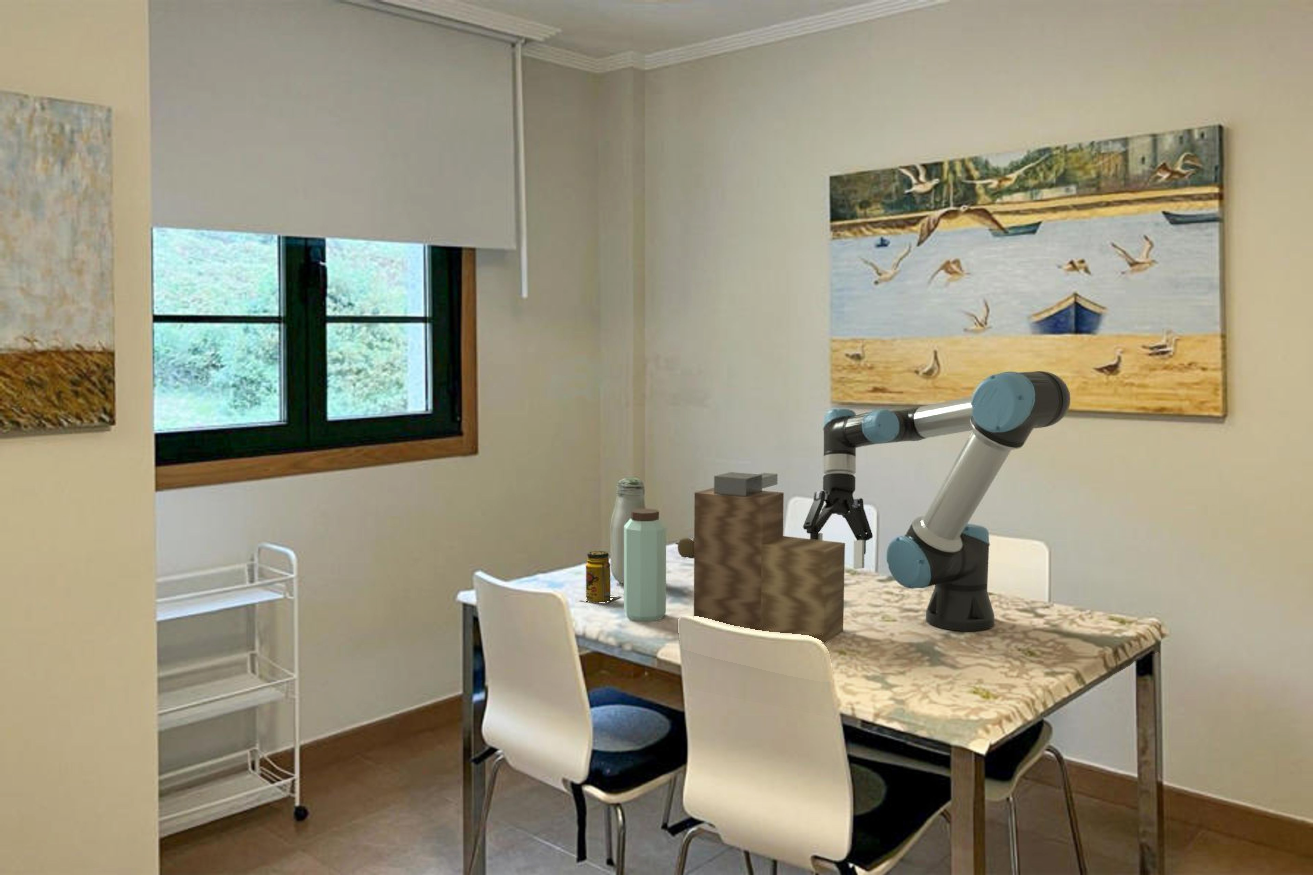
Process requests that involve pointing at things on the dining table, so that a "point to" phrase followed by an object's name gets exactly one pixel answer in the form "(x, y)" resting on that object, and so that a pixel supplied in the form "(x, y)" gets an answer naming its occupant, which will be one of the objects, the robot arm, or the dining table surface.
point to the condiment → (598, 577)
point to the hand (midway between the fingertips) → (838, 565)
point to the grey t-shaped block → (743, 483)
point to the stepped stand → (764, 568)
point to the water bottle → (644, 566)
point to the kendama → (686, 547)
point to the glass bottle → (623, 520)
